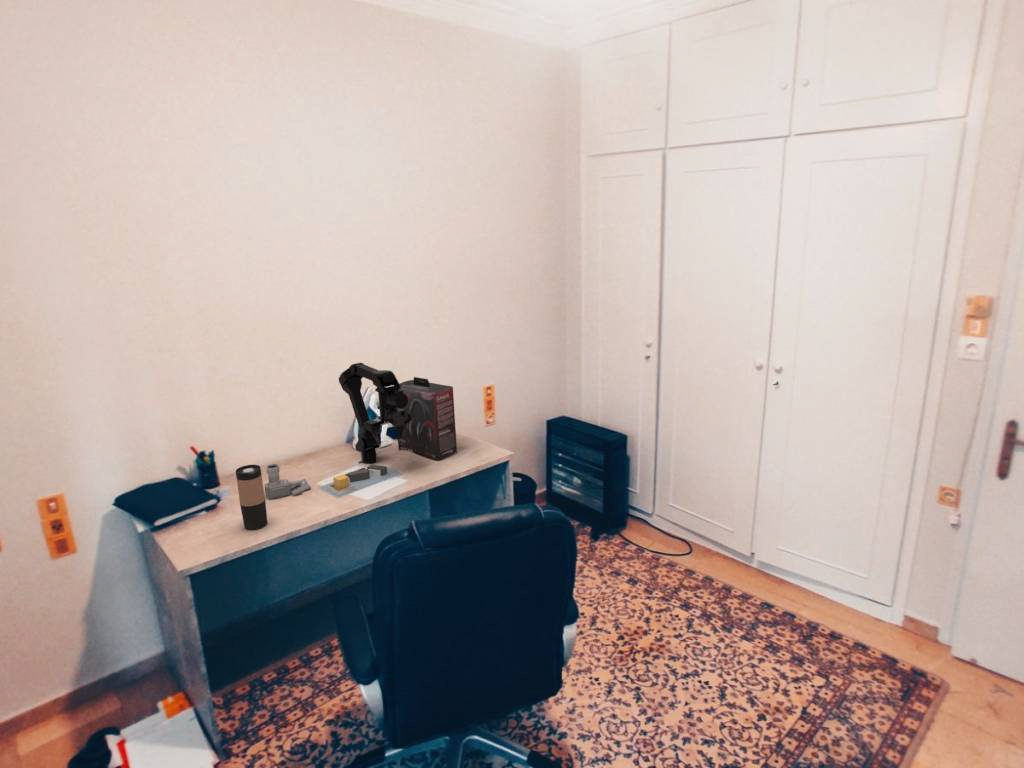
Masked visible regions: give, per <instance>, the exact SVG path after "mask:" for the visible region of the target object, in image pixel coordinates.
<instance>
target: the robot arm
mask: <svg viewBox="0 0 1024 768" xmlns="http://www.w3.org/2000/svg"><path fill="white" fill-rule="evenodd" d="M363 378H364V379H367V380H369V381H371V382H372V385H373V386H375V387H376V388H375V389H374V390H375V392H378V406H377V407H376V408H377V410H379V416H377V417H378V421H377V420H375V419H371V420H370V416H369V412H368V410H367V407H366V404H365V401H364V397H363V396H362V392H361V389H362V385H363V382H362V379H363ZM338 384H339V385H340V387H341V389H342V390H343V391H344V392H345V393H346V394H347V395H348V397H349V400H350V403H351V406H352V409H353V413H354V415H355V419H356V422H357V424H358V425H357V426H358V427H359V430H358V433H357V438H358V440H357V442H356V444H355V445H354V447H355V450H356V451H357V452H359V453H360V457H361V460H360V461H358V464H362V463H363V464H370V465H374V464H376V463H378V459H377V457H378V456H377V451H376V449H378V448H381V445H382V436H381V433H382V430H383V429H382V426H384V425H389V424H391V425H392V427H394V428H395V430H396V435H397V436H398V437H397V440H398V439H401V436H402V432H403V429H404V426H405V425H406V424H407V423H409V421H411V420H412V418H411V414H410V413H408V412H407V411H406V410H405V411H402V412H401V411H400V412H398V411H397V408H400V409H403V408H405V407H406V406H407V404H408V398H407V396H406V395H405V394H403V390H398V389H401V387H400V382H399V381H398V378H397V376H396V374H394V372H393V371H392V370H388V369H387V370H386V369H383V370H378V369H376V368H374V367H371V366H369V365H367V364H365V363H363V362H357V363H353V364H350V366H349V367H348V368H347V369H345V370H344V371H342V372H341V374H340V375H339V377H338Z"/></svg>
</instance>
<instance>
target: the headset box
mask: <svg viewBox="0 0 1024 768" xmlns="http://www.w3.org/2000/svg"><path fill="white" fill-rule="evenodd" d="M399 384H400V387H401V389H398V390H403V394H405V395H406V396H407V398H408V404H407V406H406V407H405V408H403V409H400V408H397V411H398V412H400V411H401V412H402V411H405V410H406V411H407V412H408V413H410V414H411V418H412V420H411V421H409V423H407V424H406V425H405V426H404V429H403V432H402V436H401V439H398V436H397V448H398V451H405V452H406V451H407V452H410V453H412V454H415V455H417V456H419V457H422V458H426V459H431V460H434V461H441V460H443V459H445V458H448V457H449V456H452V455H454V454H456V453H458V447H457V432H456V430H457V429H456V415H455V403H454V402H455V400H454V387H453V386H452V385H445V384H441V383H439V384H438V383H433V382H430V381H429V379H428V378H423V377H417V376H413V379H409V380H406V381H402V382H401V383H400V382H399Z"/></svg>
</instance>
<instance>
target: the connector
mask: <svg viewBox="0 0 1024 768" xmlns="http://www.w3.org/2000/svg"><path fill="white" fill-rule="evenodd" d="M344 474H345V473H344ZM344 474H343V473H342V474H340V475H337V476H334V477H333V478H332V479H333V482H334V488H335V489H337V490H341V489H344V488H347V487H350V485H349V477H348V476H346V475H344Z"/></svg>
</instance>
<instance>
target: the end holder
mask: <svg viewBox="0 0 1024 768" xmlns="http://www.w3.org/2000/svg"><path fill="white" fill-rule="evenodd" d="M326 490H327V491H329V492H331V493H333V494H335V495H336V496H341V495H344V494H346V493H349V492H352V491H354V490H356V487H355V485H352V486H350V487H347V488H344V489H341V490H337V489H335V488H334V483H333V484H330V485H327V486H326Z"/></svg>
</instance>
